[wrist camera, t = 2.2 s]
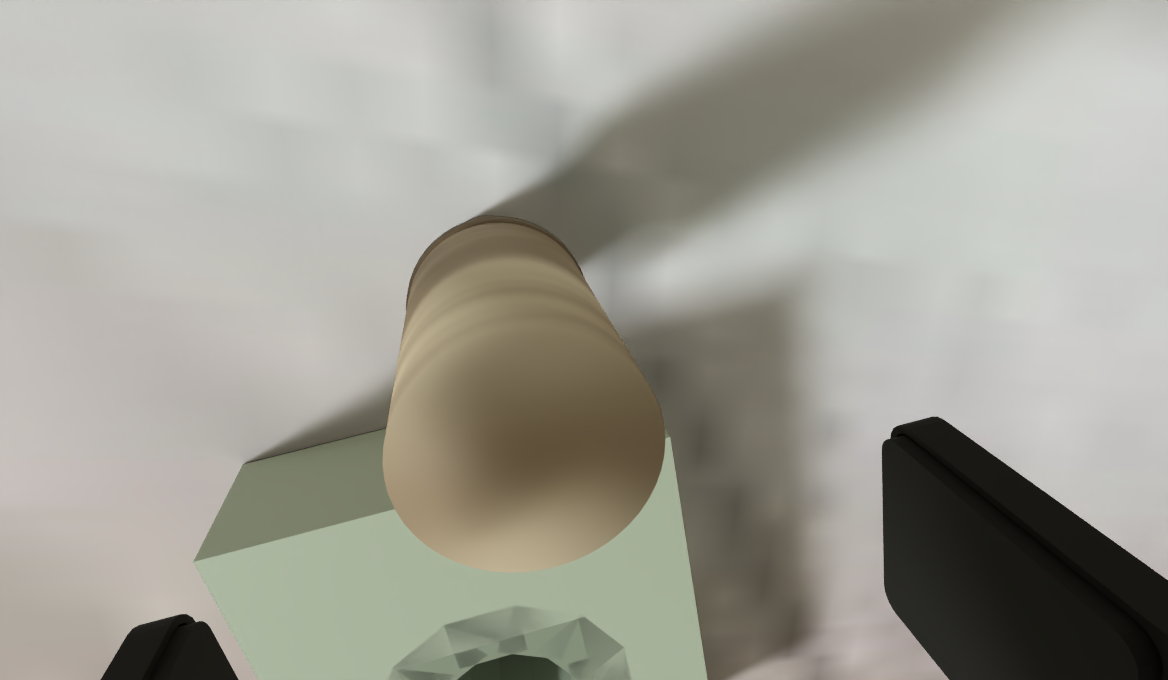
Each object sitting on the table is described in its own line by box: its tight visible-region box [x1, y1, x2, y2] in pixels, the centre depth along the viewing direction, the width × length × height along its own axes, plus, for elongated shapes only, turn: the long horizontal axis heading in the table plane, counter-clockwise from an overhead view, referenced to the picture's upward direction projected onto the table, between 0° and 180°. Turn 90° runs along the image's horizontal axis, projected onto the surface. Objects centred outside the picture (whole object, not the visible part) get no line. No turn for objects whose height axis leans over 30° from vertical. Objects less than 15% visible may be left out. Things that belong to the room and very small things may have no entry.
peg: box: [382, 216, 665, 573], centre depth 17 cm, size 5×5×12 cm
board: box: [194, 427, 707, 680], centre depth 26 cm, size 18×14×5 cm
